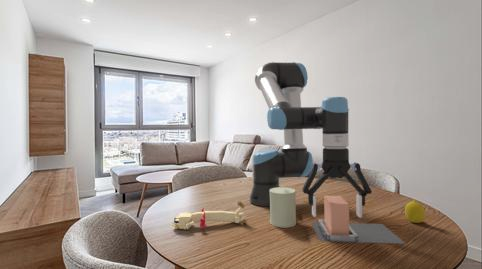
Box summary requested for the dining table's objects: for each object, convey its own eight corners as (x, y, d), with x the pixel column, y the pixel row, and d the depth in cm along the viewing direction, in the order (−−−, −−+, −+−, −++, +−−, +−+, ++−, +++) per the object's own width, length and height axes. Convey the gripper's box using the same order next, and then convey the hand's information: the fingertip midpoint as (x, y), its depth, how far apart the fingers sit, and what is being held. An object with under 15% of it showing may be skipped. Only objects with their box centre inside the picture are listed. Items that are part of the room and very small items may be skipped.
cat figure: (240, 220, 93) (172, 222, 88) (242, 197, 93) (174, 197, 88) (247, 230, 84) (171, 233, 78) (248, 205, 84) (172, 205, 78)
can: (280, 230, 80) (279, 193, 80) (264, 220, 88) (264, 187, 88) (301, 224, 85) (301, 189, 84) (285, 216, 93) (284, 184, 92)
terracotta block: (324, 225, 81) (324, 195, 81) (340, 225, 80) (339, 195, 80) (331, 237, 72) (331, 203, 72) (349, 238, 72) (348, 204, 71)
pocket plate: (319, 243, 70) (319, 236, 70) (311, 224, 84) (311, 218, 84) (405, 246, 67) (405, 238, 67) (382, 226, 81) (382, 219, 81)
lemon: (426, 228, 79) (425, 204, 79) (405, 225, 82) (405, 201, 82) (424, 223, 83) (424, 199, 83) (404, 220, 86) (404, 197, 86)
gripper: (295, 149, 73) (296, 219, 74) (383, 148, 71) (384, 221, 71) (293, 147, 81) (294, 211, 81) (372, 146, 78) (373, 212, 78)
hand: (336, 215), depth 76 cm, fingers open, 13 cm apart
